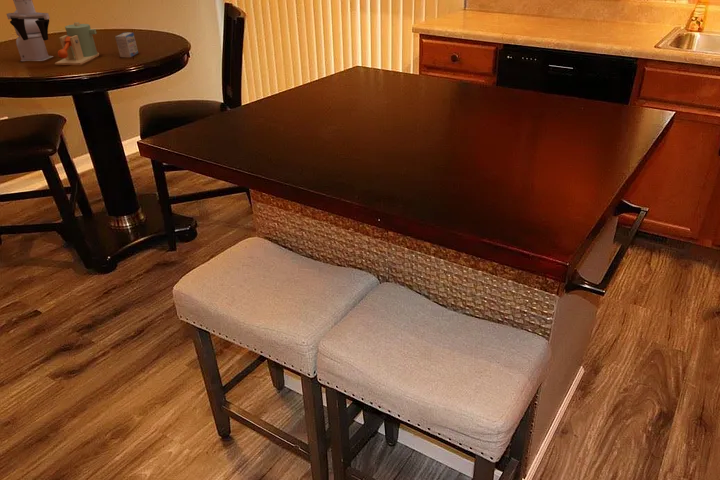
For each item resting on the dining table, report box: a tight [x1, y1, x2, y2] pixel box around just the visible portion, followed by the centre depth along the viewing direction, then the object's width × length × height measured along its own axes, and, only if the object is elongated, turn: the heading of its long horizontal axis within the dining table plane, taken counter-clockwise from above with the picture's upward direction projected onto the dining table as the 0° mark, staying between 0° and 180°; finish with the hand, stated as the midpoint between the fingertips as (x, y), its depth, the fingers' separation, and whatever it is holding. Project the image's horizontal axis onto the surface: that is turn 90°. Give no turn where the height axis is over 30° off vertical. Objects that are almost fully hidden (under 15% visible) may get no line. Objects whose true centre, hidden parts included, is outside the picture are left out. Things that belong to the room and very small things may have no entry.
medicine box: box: [114, 31, 139, 58], centre depth 234 cm, size 8×4×9 cm, turn 179°
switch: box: [57, 36, 72, 59], centre depth 221 cm, size 11×3×3 cm, turn 179°
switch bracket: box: [54, 34, 96, 66], centre depth 225 cm, size 12×10×10 cm
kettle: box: [64, 21, 100, 58], centre depth 232 cm, size 12×11×13 cm
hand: (35, 39), depth 214 cm, fingers open, 7 cm apart
